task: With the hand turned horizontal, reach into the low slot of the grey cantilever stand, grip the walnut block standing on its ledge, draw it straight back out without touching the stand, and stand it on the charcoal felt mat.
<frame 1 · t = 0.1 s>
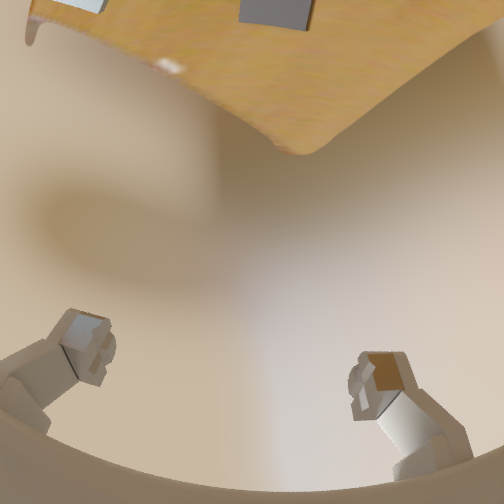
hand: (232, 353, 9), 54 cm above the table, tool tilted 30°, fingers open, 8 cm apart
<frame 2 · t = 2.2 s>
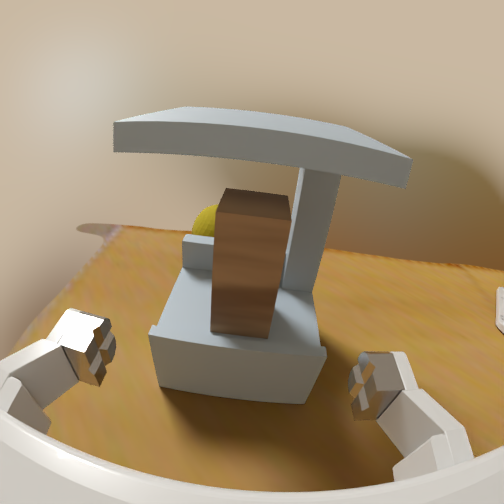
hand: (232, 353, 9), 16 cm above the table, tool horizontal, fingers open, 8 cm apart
grey cantilever stand: (235, 360, 27), on the table
lemon: (218, 259, 43), on the table
walnut block: (241, 316, 24), point 6 cm above the table, touching grey cantilever stand
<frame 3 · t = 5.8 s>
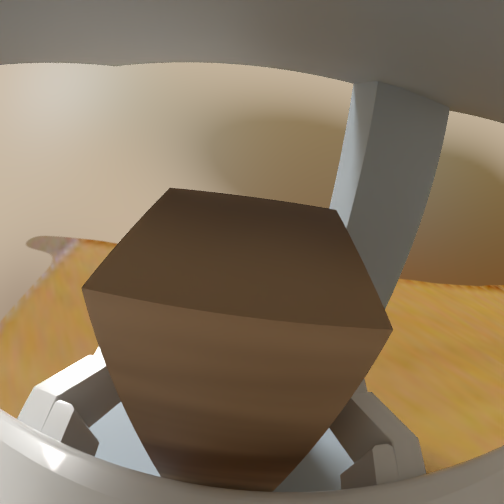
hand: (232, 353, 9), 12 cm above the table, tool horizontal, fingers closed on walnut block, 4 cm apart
grey cantilever stand: (218, 475, 14), on the table
walnut block: (222, 443, 11), point 6 cm above the table, touching grey cantilever stand, gripper
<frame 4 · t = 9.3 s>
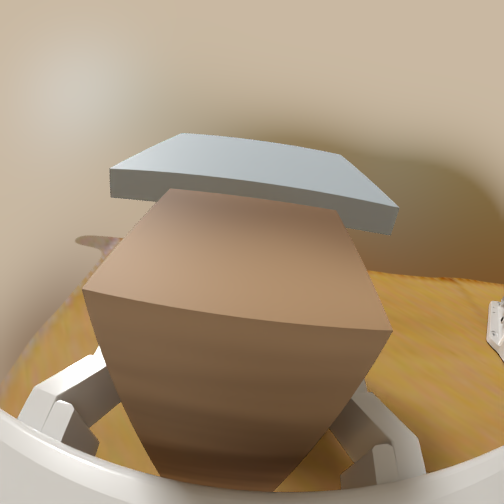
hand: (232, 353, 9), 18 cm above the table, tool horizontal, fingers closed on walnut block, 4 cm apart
grey cantilever stand: (229, 377, 28), on the table
walnut block: (222, 443, 11), point 13 cm above the table, touching gripper
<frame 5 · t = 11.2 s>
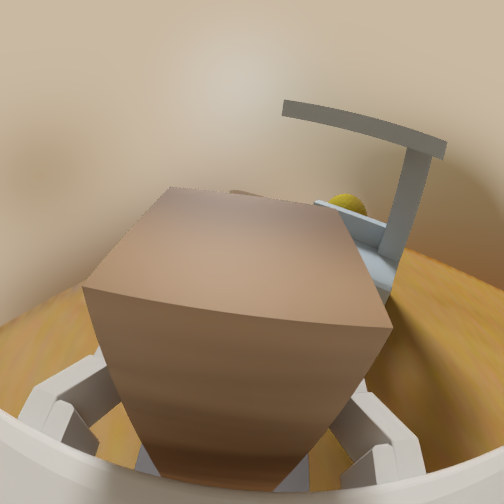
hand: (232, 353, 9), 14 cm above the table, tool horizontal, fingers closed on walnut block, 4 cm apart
felt mat: (221, 482, 15), on the table
grey cantilever stand: (327, 299, 35), on the table
lemon: (339, 239, 50), on the table
walnut block: (222, 442, 11), point 9 cm above the table, touching gripper
when the fingers open (8 cm above the table, at t = 12.7 s): walnut block drops 1 cm, resting on felt mat.
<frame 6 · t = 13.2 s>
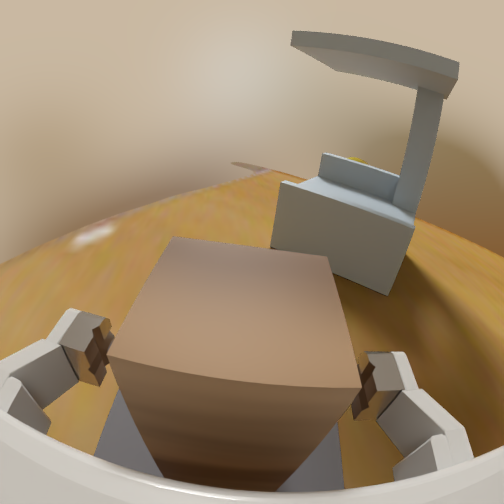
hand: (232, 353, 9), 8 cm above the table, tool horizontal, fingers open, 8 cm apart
felt mat: (220, 456, 12), on the table
grey cantilever stand: (340, 253, 31), on the table
walnut block: (223, 453, 11), point 1 cm above the table, touching felt mat
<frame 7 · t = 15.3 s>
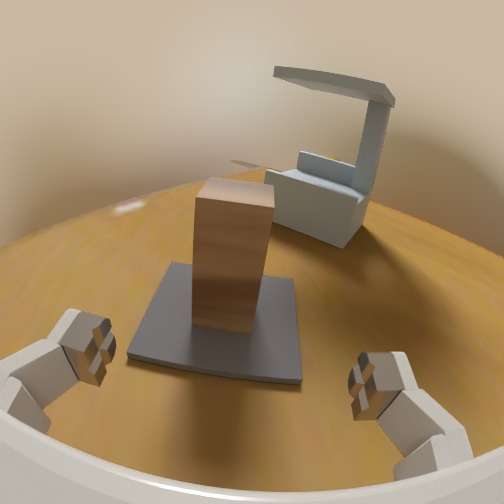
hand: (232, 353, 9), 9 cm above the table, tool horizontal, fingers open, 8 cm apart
felt mat: (223, 316, 23), on the table
grey cantilever stand: (311, 222, 43), on the table
walnut block: (224, 311, 23), point 1 cm above the table, touching felt mat
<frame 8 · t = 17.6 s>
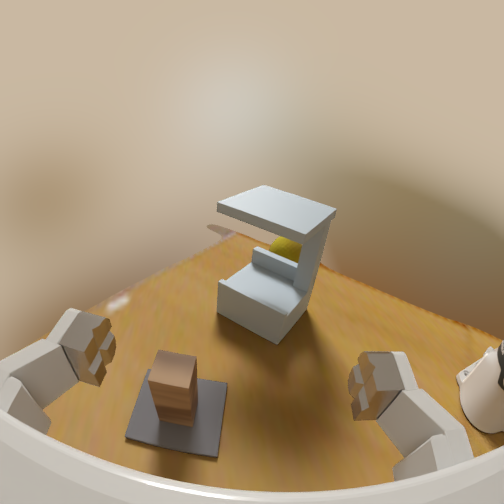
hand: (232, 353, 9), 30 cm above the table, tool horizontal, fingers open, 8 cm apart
felt mat: (178, 412, 35), on the table
grey cantilever stand: (259, 314, 54), on the table
lemon: (283, 267, 70), on the table
walnut block: (179, 410, 34), point 1 cm above the table, touching felt mat
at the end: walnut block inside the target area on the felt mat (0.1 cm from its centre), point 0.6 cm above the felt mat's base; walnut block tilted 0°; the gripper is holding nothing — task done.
